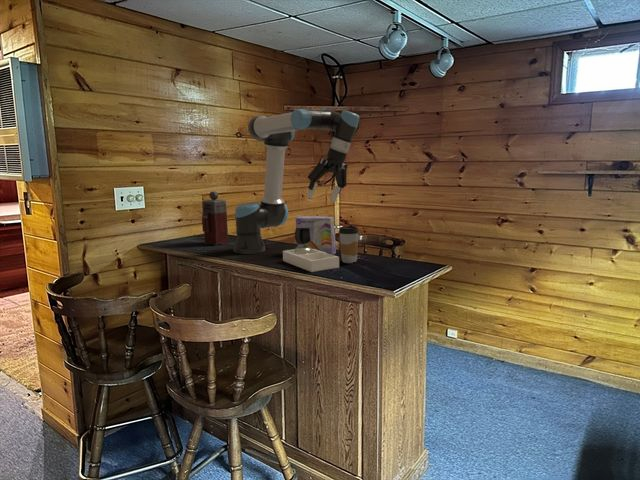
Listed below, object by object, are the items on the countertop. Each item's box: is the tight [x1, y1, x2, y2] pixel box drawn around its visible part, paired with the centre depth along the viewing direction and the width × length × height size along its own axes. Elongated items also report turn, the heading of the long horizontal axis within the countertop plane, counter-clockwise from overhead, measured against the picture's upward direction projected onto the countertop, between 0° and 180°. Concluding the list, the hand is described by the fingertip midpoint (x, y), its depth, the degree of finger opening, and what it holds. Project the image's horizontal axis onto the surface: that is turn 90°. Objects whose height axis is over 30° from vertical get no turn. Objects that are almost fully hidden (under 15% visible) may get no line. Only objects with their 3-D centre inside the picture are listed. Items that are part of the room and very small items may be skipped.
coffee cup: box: [338, 225, 359, 264], centre depth 205 cm, size 8×8×15 cm
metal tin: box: [294, 247, 311, 255], centre depth 208 cm, size 7×7×5 cm
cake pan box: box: [294, 215, 337, 255], centre depth 223 cm, size 19×5×18 cm, turn 65°
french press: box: [201, 190, 229, 245], centre depth 253 cm, size 9×11×28 cm
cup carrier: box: [282, 248, 340, 273], centre depth 203 cm, size 25×13×4 cm, turn 31°
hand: (321, 199), depth 198 cm, fingers open, 13 cm apart
